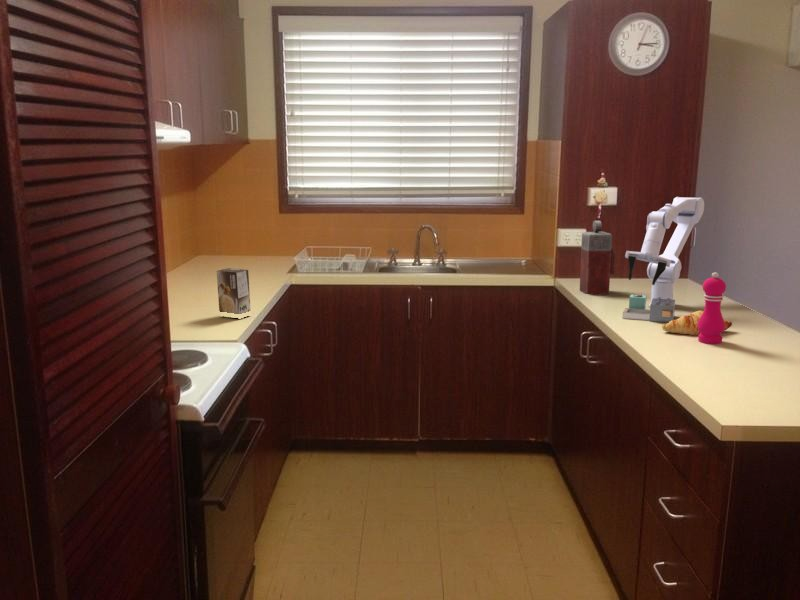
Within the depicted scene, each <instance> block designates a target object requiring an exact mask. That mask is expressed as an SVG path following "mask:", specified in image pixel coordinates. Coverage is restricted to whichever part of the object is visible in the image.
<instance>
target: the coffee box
mask: <svg viewBox="0 0 800 600" xmlns="http://www.w3.org/2000/svg"><path fill="white" fill-rule="evenodd" d="M216 282H217V297H218V308H219V309H218V311H220V312H227V313H234V314H242V313H246V312H249V311H251V310H252V309H251V295H250V279H249V269H243V268H229V267H227V268H223V269H220V270H219V269H218V270H216ZM251 312H252V311H251Z"/></svg>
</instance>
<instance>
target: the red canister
mask: <svg viewBox="0 0 800 600" xmlns="http://www.w3.org/2000/svg"><path fill="white" fill-rule="evenodd" d="M602 228H603V226H602V221H601V220H593V221H592V230H593V231H583V232H582V234H581V246H580V247H581V250H580V271H579V272H580V274H579V291H580V292H581V293H583V294H585V295H586V294H593V295H609V294H610V282H611V281H610V279H611V276H613V275H615V272H616V271H615V269H616V264H615V263H616V253H615V250H614V248H612V240H613V235H612V233H610V232H606V231H602Z"/></svg>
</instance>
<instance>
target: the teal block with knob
mask: <svg viewBox="0 0 800 600" xmlns="http://www.w3.org/2000/svg"><path fill="white" fill-rule="evenodd" d="M628 308H633V309H647V295H644V294H643V295H642V294H630V295H629V304H628Z"/></svg>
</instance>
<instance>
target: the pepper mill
mask: <svg viewBox="0 0 800 600" xmlns="http://www.w3.org/2000/svg"><path fill="white" fill-rule="evenodd" d="M726 289H727V285H726V282H725V280H723V278H719V273H718V272H716V271H715V272H712V273H711V277H709V278H706V279H705V280H704V282H703V284H702V290H703V292H704V294H703V296H704V297H703V299H704V301H705V302H704V309H703V311H704V312H703V314H702V315H701V317H700V319H699V321H698V325H697V327H698V330H699V331H700V332H701V333H700V334H699V335H697V336H698V338H697V340H698V341H699V342H700V343H703V344H707V345H719V344H721V343H723V335H722V334H723V333H724V332H725V331H726V330H725V322H724V320H725V319H724V316H723V314H722V311H721V310H722V309H721V305H722V301H724V295H723V294H724V293H725V292H726V291H727V290H726ZM724 330H725V331H724Z"/></svg>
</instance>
